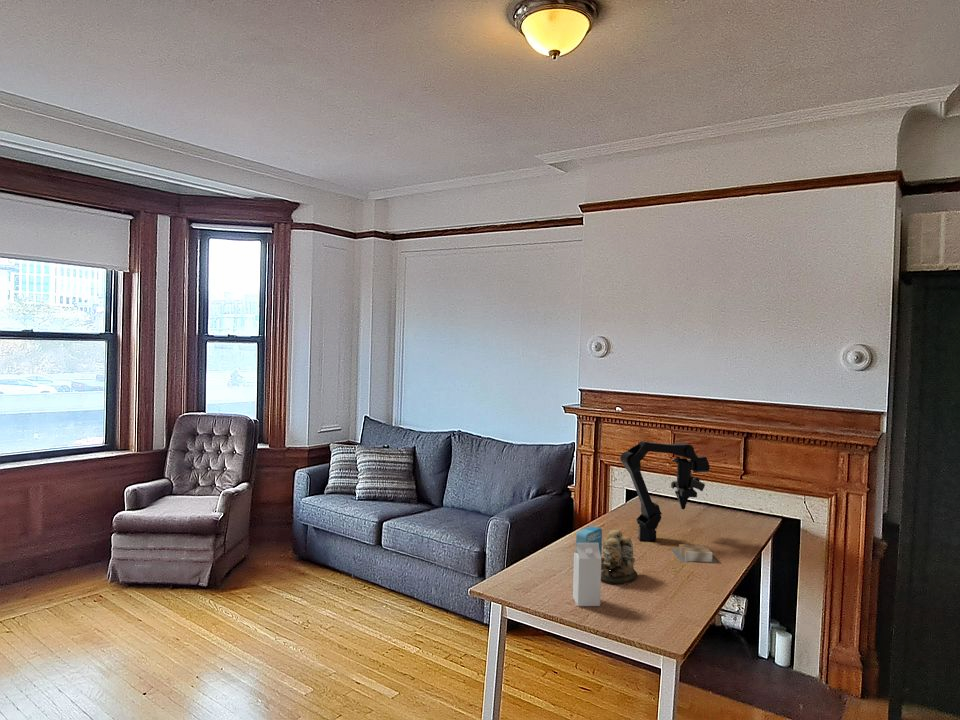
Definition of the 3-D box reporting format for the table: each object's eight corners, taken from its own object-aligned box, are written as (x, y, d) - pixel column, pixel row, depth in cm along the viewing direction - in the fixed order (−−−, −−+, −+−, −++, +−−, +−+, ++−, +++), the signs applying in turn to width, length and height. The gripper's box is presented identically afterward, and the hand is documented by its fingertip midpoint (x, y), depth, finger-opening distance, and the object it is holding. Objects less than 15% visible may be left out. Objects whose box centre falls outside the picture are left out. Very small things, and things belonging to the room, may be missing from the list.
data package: (585, 566, 238) (586, 534, 238) (575, 563, 241) (575, 531, 241) (601, 558, 247) (602, 527, 247) (591, 555, 250) (592, 525, 250)
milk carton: (572, 597, 208) (574, 539, 207) (594, 597, 208) (595, 539, 208) (577, 606, 200) (579, 546, 200) (600, 606, 201) (601, 546, 201)
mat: (680, 563, 244) (680, 561, 244) (670, 550, 259) (670, 549, 259) (718, 564, 243) (718, 562, 243) (705, 551, 258) (705, 550, 258)
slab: (678, 553, 254) (685, 560, 245) (679, 544, 254) (685, 551, 245) (704, 553, 254) (712, 561, 244) (704, 545, 253) (712, 552, 244)
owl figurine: (620, 589, 216) (621, 539, 216) (590, 580, 224) (590, 532, 223) (644, 575, 230) (645, 527, 230) (615, 567, 237) (615, 521, 237)
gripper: (710, 477, 264) (709, 515, 264) (696, 469, 283) (695, 504, 283) (682, 477, 264) (681, 514, 265) (671, 468, 283) (670, 503, 283)
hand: (683, 509), depth 274 cm, fingers closed
